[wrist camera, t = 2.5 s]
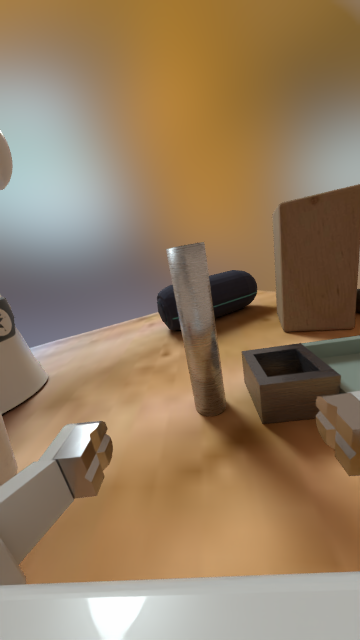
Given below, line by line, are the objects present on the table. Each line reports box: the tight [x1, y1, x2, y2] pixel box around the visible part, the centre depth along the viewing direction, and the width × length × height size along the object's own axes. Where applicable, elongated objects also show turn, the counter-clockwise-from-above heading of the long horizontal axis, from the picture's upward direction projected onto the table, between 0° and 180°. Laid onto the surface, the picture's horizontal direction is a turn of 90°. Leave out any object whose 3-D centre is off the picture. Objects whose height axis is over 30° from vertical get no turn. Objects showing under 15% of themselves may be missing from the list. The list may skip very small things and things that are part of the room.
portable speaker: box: [157, 270, 257, 330], centre depth 49 cm, size 25×10×10 cm, turn 119°
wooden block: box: [273, 184, 360, 332], centre depth 35 cm, size 10×10×20 cm
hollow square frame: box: [242, 343, 341, 424], centre depth 21 cm, size 6×6×4 cm
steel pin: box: [166, 242, 226, 416], centre depth 20 cm, size 3×3×16 cm
